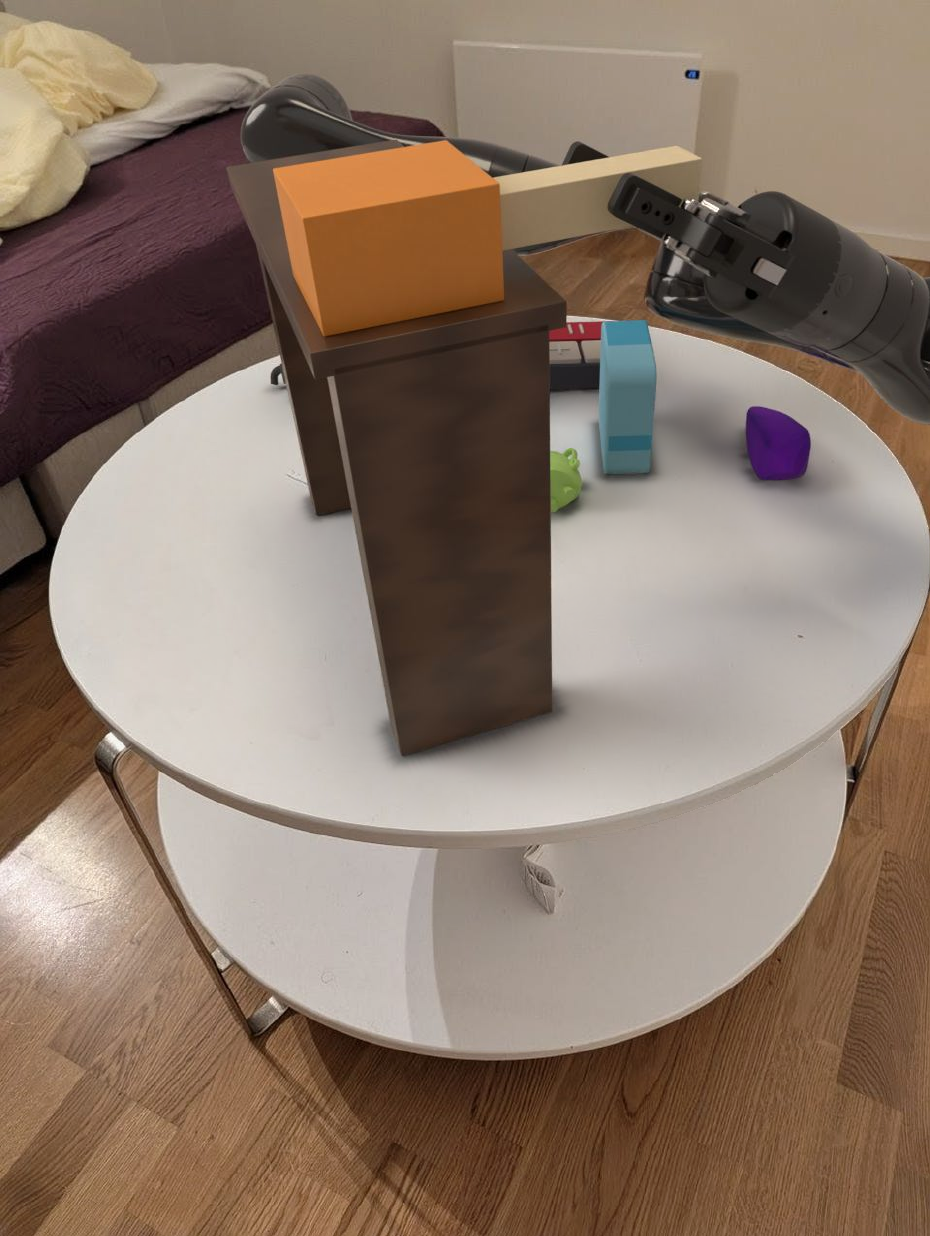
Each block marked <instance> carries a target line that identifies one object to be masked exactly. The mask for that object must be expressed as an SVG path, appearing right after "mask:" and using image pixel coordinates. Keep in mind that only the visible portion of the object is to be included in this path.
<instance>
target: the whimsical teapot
mask: <svg viewBox="0 0 930 1236" xmlns="http://www.w3.org/2000/svg"><path fill="white" fill-rule="evenodd" d="M569 457H570V459H569ZM580 466H581V461H580V460H579V459H578V450H576V449H575V448H573V447H570V448H567V449H566V450H564V451H563V452H562V453H560V452H557V451H555V450H550V477H551V513H555V512H557V511H558V509H561V508H563V507H566V506H567V505H568V504H569V503H571V502H573V501H574V500H575V499H577V498H579V495H580V493H581V490H582V487H583V480H582V476H581V473H580V471H579V470H578V468H579V467H580Z"/></svg>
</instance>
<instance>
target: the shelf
mask: <svg viewBox="0 0 930 1236" xmlns="http://www.w3.org/2000/svg"><path fill="white" fill-rule="evenodd" d="M402 147H404V146H403V145H402V144H401V143H400V142H399V141H398V140H390V141H384V142H378V143H372V144H365V145H359V146H353V147H347V148H341V149H334V150H328V151H322V152H316V153H310V154H304V155H297V156H291V157H285V158H279V159H273V160H266V161H260V162H254V163H249V162H247V163H243V164H237V165H236V164H235V165H229V166H226V172H227V177H228V182H229V187H230V188H231V191H232V193H233V195H234V197H235V200H236V202H237V204H238V206H239V209H240V211H241V213H242V216H243V218H244V221H245V223H246V225H247V227H248V230H249V232H250V235H251V237H252V239H253V241H254V243H255V247H256V251H257V256H258V260H259V265H260V269H261V274H262V278H263V279H262V280H263V284H264V288H265V292H266V299H267V302H268V306H269V312H270V316H271V320H272V326H273V330H274V334H275V335H274V336H275V338H276V345H277V349H278V353H279V358H280V364H281V363H282V367H283V372H284V376H285V381H286V384H285V385H286V389H287V394H288V400H289V404H290V409H291V413H292V417H293V422H294V426H295V430H296V431H295V432H296V436H297V442H298V445H299V450H300V455H301V460H302V464H303V469H304V473H305V478H306V482H307V488H308V491H309V492H308V493H309V496H310V500H311V503H312V506H313V509H314V513H315V515H316V516H317V517H318V516H322V515H326V514H331V513H334V512H335V513H336V512H339V511H343V510H347V509H351V514H352V520H353V526H354V530H355V537H356V543H357V545H358V546H357V547H358V553H359V559H360V564H361V569H362V575H363V580H364V586H365V590H366V591H365V592H366V596H367V602H368V608H369V612H370V613H369V614H370V619H371V625H372V629H373V636H374V641H375V647H376V651H377V656H378V662H379V668H380V673H381V679H382V685H383V691H384V695H385V696H384V697H385V701H386V706H387V711H388V712H387V713H388V717H389V722H390V727H391V731H392V734H393V736H394V739H395V742H396V745H397V748H398V752H399V754H400V756H406V755H409V754H413V753H416V752H419V751H424V750H427V749H430V748H433V747H436V746H440V745H443V744H447V743H450V742H454V741H457V740H461V739H464V738H468V737H471V736H474V735H478V734H481V733H485V732H488V731H492V730H495V729H499V728H501V727H502V728H503V727H506V726H508V725H512V724H516V723H519V722H522V721H526V720H530V719H533V718H537V717H539V716H543V715H546V714H550V713H553V643H552V642H553V625H552V622H553V619H552V618H553V617H552V615H553V614H552V611H553V609H552V607H553V606H552V512H551V477H550V451H551V389H550V351H549V331H551V330H556V329H561V328H566V326H567V322H568V321H567V320H568V319H567V313H568V311H567V310H568V309H567V308H568V307H567V306H568V305H567V304H568V302H567V300H566V299H565V298H564V297H563V296H561V294H560V293H559V292H557V290H555V288H553V287H552V286H551V285H550V284H549V283H548V282H547V281H546V280H545V279H544V278H543V277H542V276H541V275H540V274H538V272H536V270H534V269H533V268H532V267H531V266H530V265H529V264H528V262H526V261H525V260H524V259H523V258H522V256H519V255H517V254H516V253H515V252H514V251H513V250H512V249H509V250H504V251H502V254H503V278H504V301H499V302H494V303H489V304H484V305H479V306H474V307H469V308H464V309H459V310H455V311H450V312H445V313H440V314H435V315H430V316H425V317H420V318H415V319H410V320H405V321H400V322H395V323H390V324H385V325H380V326H375V327H370V328H365V329H360V330H355V331H350V332H345V333H340V334H335V335H330V336H325V337H324V336H323V334H322V332H321V330H320V328H319V326H318V324H317V322H316V320H315V318H314V316H313V314H312V312H311V310H310V308H309V306H308V304H307V302H306V300H305V298H304V296H303V294H302V292H301V290H300V288H299V286H298V284H297V282H296V280H295V278H294V276H293V271H292V266H291V261H290V256H289V250H288V245H287V240H286V235H285V230H284V225H283V219H282V214H281V209H280V204H279V199H278V194H277V188H276V183H275V178H274V173H273V169H274V168H280V167H286V166H292V165H298V164H304V163H310V162H316V161H323V160H329V159H335V158H341V157H347V156H353V155H359V154H365V153H371V152H377V151H383V150H389V149H395V148H402Z"/></svg>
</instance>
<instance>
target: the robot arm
mask: <svg viewBox="0 0 930 1236" xmlns="http://www.w3.org/2000/svg"><path fill="white" fill-rule="evenodd" d="M390 140H398V141H399V142H400V143H401V144H402V145H403V146H404V147H408V146H414V145H420V144H426V143H432V142H438V141H444V140H447V141H448V142H449V143H450V144H452V145H453V146H454V147H455V148H457V149H458V150H459V151H460V152H461V153H463V154H464V155H465V156H466V157H468V158H469V159H470V160H471V161H472V162H474V163H475V164H476V165H477V166H479V167H480V168H481V169H482V170H483V171H485V172H486V173H487V174H488V175H490V176H491V177H492V178H494V177H500V176H505V175H511V174H517V173H523V172H528V171H534V170H540V169H545V168H551V167H557V166H563V165H568V164H574V163H580V162H586V161H591V160H597V159H603V158H609V157H610V156H609V155H607V154H605V153H603V152H601V151H599V150H597V149H595V148H593V147H592V146H590V145H587V144H585V143H584V142H581V141H579V140H577V141H574V142H572V144H570V146H569V148H568V150H567V152H566V155H565V157H564V158H563V161H562V163H561V165H560V164H557V163H555V162H552V161H549V160H547V159H543V158H541V157H538V156H535V155H533V154H529V153H526V152H524V151H520V150H517V149H513V148H510V147H507V146H504V145H500V144H497V143H493V142H490V141H485V140H480V139H475V138H473V139H472V138H467V137H456V136H455V137H453V136H431V135H430V136H429V135H428V136H425V135H407V134H398V133H393V132H387V131H383V130H380V129H377V128H373V127H372V126H368V125H365V124H363V123H360V122H357V121H354V120H353V117H352V113H351V110H350V108H349V106H348V103H347V101H346V99H345V98H344V96H343V94H342V93H341V92H340V90H338V88H337V87H336V86H335V85H334V84H333V83H331V82H330V81H329V80H327V79H326V78H324V77H322V76H319V75H318V74H314V73H308V72H303V73H302V72H301V73H295V74H291V75H289V76H287V77H285V78H283V79H281V80H280V81H279V82H277V83H276V84H275V85H273V86H272V87H271V88H269V89H268V90H266V91H265V92H264V93H262V94H261V95H260V96H259V97H258V98H257V99H256V100H255V101H254V102H253V103H252V105H251V106H250V107H249V109H248V110H247V112H246V113H245V116H244V118H243V120H242V123H241V127H240V144H241V147H242V151H243V154H244V156H245V159H246V161H247V163H254V162H260V161H266V160H273V159H279V158H285V157H291V156H297V155H304V154H310V153H316V152H322V151H328V150H334V149H341V148H347V147H353V146H359V145H365V144H372V143H378V142H384V141H390ZM681 202H682V203H681ZM680 204H681V205H680ZM679 206H680V207H679ZM608 211H609V212H610V213H611V214H612V215H613V216H615V217H616V218H618V219H620V220H623V221H625V222H627V223H629V224H631V225H633V226H630V227H625V228H620V229H614V230H609V231H604V232H599V233H593V234H588V235H583V236H578V237H572V238H567V239H562V240H557V241H551V242H546V243H541V244H536V245H530V246H525V247H520V248H515V249H512V250H513V251H514V252H515V253H516V254H517V255H519V256H520V257H528V256H529V257H530V256H534V255H540V254H543V253H546V252H551V251H553V250H557V249H560V248H563V247H565V246H569V245H572V244H574V243H577V242H580V241H583V240H587V239H589V238H594V237H597V236H601V235H606V234H611V233H616V232H621V231H628V230H639V231H640V232H642V233H643V234H645V235H647V236H649V237H651V238H653V239H654V240H657V241H658V242H660V244H659V246H658V250H657V252H656V255H655V258H654V261H653V264H652V267H651V269H650V270H651V271H650V272H649V275H648V279H647V281H646V284H645V289H644V292H643V293H644V295H643V301H644V304H645V306H646V308H647V309H648V310H649V312H651V313H652V314H653V315H655V316H656V317H658V318H660V319H662V320H664V321H666V322H669V323H671V324H675V325H677V326H680V327H683V328H686V329H690V330H694V331H698V332H701V333H706V334H711V335H715V336H719V337H725V338H729V339H734V340H739V341H745V342H749V343H755V344H762V345H763V344H764V345H769V346H775V347H780V348H784V349H788V350H791V351H795V352H798V353H801V354H804V355H807V356H809V357H811V358H815V359H818V360H821V361H823V362H826V363H828V364H832V365H834V366H837V367H840V368H842V369H846V370H849V371H852V372H857V373H859V375H861V376H862V378H863V379H864V380H865V381H866V382H867V384H868V385H869V386H870V387H871V389H873V391H874V392H875V393H876V394H877V395H878V397H879V398H880V399H881V400H882V401H883V402H884V403H886V405H888V406H889V407H890V408H891V409H892V410H893V411H894V412H896V413H897V414H899V415H900V416H902V417H903V418H906V419H907V420H910V421H912V422H913V423H917V424H921V425H926V426H927V425H928V426H930V276H926V277H922V276H921V275H920V274H919V273H917V272H916V271H915V270H913V269H911V268H910V267H909V266H906V265H905V264H902V263H901V262H900V261H897V260H896V259H893V257H890V256H888V255H886V254H884V253H883V252H881V251H879V250H878V249H876V248H874V247H872V246H871V245H869V243H868V242H866V241H865V240H864V239H863V238H862V237H860V236H859V235H858V234H857V233H855V232H853V231H852V230H851V229H849V228H847V227H845V226H843V225H842V224H840V223H838V222H836V221H835V220H833V219H831V218H829V217H827V216H826V215H823V214H822V213H820V212H818V211H816V210H815V209H813V208H811V207H810V206H807V205H806V204H804V203H802V202H801V201H798V200H796V199H795V198H793V197H791V196H789V195H788V194H786V193H783V192H781V191H775V190H770V191H769V190H768V191H763V192H760V193H756V194H755V195H752V196H751V197H749V198H747V199H746V200H744V201H743V202H741V203H740V204H739V205H738V206H736V205H734V204H731V203H730V201H727V200H726V199H724V198H722V197H720V196H719V195H716V194H715V193H713V192H711V191H709V190H704V191H699V199H698V202H697V201H696V200H694V199H692V198H691V200H688V199H685V198H684V200H683V201H682V199H681V198H679V197H677V196H675V195H673V194H672V193H670V192H668V191H666V190H664V189H662V188H660V187H658V186H656V185H654V184H652V183H650V182H648V181H646V180H644V179H642V178H640V177H638V176H636V175H634V174H632V173H625V174H624V175H622V177H621V178H620V180H619V182H618V184H617V186H616V188H615V190H614V192H613V194H612V196H611V198H610V200H609V202H608ZM280 375H281V379H282V383H283V385H286V381H285V376H284V372H283V367H282V363H281V362H280V363H279V365H277V366H275V367H273V369H272V370H271V372H270V385H272V386H278V385H279V376H280Z"/></svg>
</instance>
